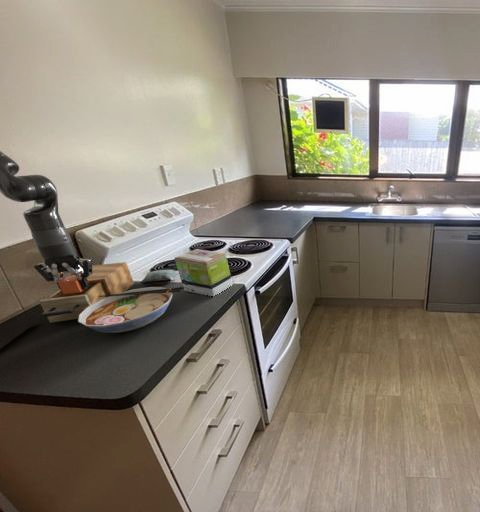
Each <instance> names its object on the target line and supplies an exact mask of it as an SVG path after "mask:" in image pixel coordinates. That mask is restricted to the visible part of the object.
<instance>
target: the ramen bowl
mask: <svg viewBox="0 0 480 512" xmlns="http://www.w3.org/2000/svg"><path fill="white" fill-rule="evenodd" d="M183 290H184V287H183V286H178V287H170V288H166V287H163V286H149V287H140V288H134V289H130V290H127V291H125V292H122V293H118V294H111V296H110V297H108V296H109V295H102V296H99V297H107V298H105V299H102V300H100V301H98V302H96V303H94V304H92V305H91V306H89V307H87V308H86V309H85V310H84V311H83V312H82V313H81V314H80V315H79V319H77V322H78V323H79V324H81V325H83V326H85V327H87V328H89V329H91V330H94V331H95V332H99V333H111V334H119V333H124V332H125V333H126V332H130V331H134V330H137V329H140V328H143V327H145V326H147V325H149V324H151V323H154V321H156V320H157V319H159V318H160V317H161V316H162V315H163V314H164V313H165V312H166V310H167V309H168V307H169V305H170V304H171V301H172V300H173V293H181V292H182V291H183Z"/></svg>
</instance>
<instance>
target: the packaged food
mask: <svg viewBox="0 0 480 512" xmlns="http://www.w3.org/2000/svg"><path fill="white" fill-rule="evenodd" d="M178 275H179V272H178V270H174V269H160V270H159V269H158V270H157V269H156V270H153V271H149V272H148V273H147V274H146V275H145V276H144V278H143V279H142V280H141V281H139V284H142V285H145V286H155V285H164V284H169V283H171V282H175V280H174V278H176V277H177V276H178Z"/></svg>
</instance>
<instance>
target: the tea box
mask: <svg viewBox="0 0 480 512" xmlns="http://www.w3.org/2000/svg"><path fill="white" fill-rule="evenodd" d="M174 262H175V265H176V269H177V271H178V272H179V274H178V275H179V278H180V281H181V286H182V287H184V289H183V290H184V292H189V293H192V294H198V295H202V296H207V295H208V297H211V296H213V297H212V298H215V297H216V296H215V295H217V294H218V295H220V294H222V293H223V292H225V291H227V290H228V289H230V288H231V287H233V286H232V285H234V284H233V279H232V275H231V271H230V266H229V262H228V256H227V253H225V252H220V251H212V250H207V249H199V248H195V249H192V250H190V251H188V252H185V253H183V254H180V255H178V256H175V257H174ZM230 286H231V287H230ZM229 287H230V288H229ZM227 288H228V289H227ZM226 289H227V290H226ZM224 290H225V291H224ZM222 291H223V292H222ZM221 292H222V293H221ZM219 293H220V294H219ZM218 295H217V296H218ZM214 296H215V297H214Z"/></svg>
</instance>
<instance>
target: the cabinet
mask: <svg viewBox="0 0 480 512" xmlns="http://www.w3.org/2000/svg"><path fill="white" fill-rule="evenodd" d="M71 276H75V275H72V274H71ZM87 280H88V282H89V283H90V282H99V281H103V283H104V285H105V287H106V290H107V292H108V295H109V297H110V296H111V294H118V293H122V292H126V291H129V289H131V287H132V286H133V285H134V284H135V281H134V278H133V276H132V274H131V270H130V268H129V266H128V262H127V261H123V262H113V263H103V264H92V274H91V275H90V276H88V277H87Z"/></svg>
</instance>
